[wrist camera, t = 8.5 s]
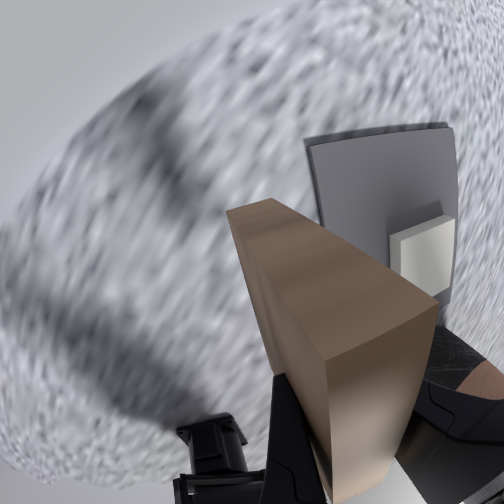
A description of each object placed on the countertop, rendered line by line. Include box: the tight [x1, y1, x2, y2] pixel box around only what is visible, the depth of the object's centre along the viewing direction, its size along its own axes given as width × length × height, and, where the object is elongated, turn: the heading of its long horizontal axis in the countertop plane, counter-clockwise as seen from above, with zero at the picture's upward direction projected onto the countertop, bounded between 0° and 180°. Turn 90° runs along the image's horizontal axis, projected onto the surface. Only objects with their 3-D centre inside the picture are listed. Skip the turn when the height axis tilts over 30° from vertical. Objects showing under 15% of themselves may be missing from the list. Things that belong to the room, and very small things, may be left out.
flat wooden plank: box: [226, 198, 439, 504], centre depth 9 cm, size 9×2×9 cm, turn 13°
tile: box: [390, 215, 455, 297], centre depth 23 cm, size 8×2×8 cm
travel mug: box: [423, 326, 504, 400], centre depth 21 cm, size 8×8×20 cm
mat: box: [307, 128, 458, 310], centre depth 23 cm, size 20×16×1 cm
